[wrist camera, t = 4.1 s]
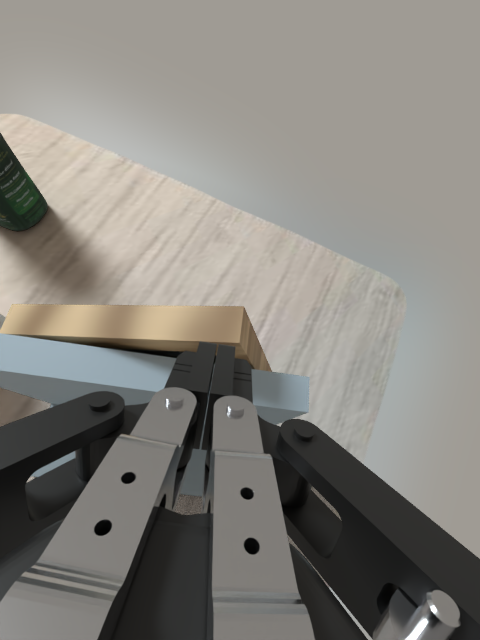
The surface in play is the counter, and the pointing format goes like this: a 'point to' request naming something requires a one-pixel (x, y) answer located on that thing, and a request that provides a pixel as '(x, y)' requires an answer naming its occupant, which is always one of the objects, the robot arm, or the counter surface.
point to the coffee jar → (17, 193)
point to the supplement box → (2, 320)
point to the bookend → (127, 385)
